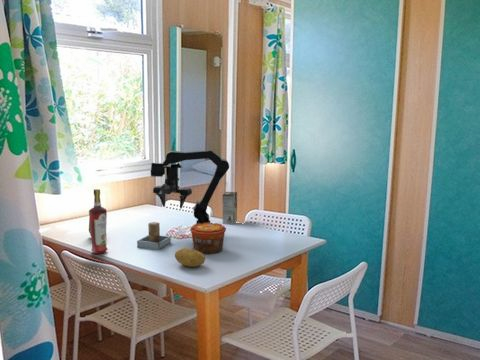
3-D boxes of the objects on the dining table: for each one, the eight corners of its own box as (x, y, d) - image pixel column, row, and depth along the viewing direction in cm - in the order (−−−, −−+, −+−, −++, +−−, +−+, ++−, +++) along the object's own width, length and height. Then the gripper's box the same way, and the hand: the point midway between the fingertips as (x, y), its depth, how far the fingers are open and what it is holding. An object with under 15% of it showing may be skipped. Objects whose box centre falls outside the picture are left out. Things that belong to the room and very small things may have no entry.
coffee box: (226, 219, 273) (226, 191, 270) (237, 220, 271) (237, 191, 269) (222, 223, 264) (222, 194, 261) (233, 224, 262) (233, 195, 260)
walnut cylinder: (160, 242, 227) (159, 222, 226) (159, 245, 222) (159, 224, 221) (149, 242, 227) (148, 222, 225) (148, 245, 222) (147, 224, 221)
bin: (170, 242, 228) (170, 236, 228) (159, 249, 218) (159, 243, 217) (149, 240, 232) (149, 234, 231) (137, 247, 221) (137, 240, 221)
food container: (212, 257, 207) (212, 233, 206) (182, 251, 216) (182, 227, 214) (232, 248, 221) (233, 225, 219) (204, 242, 229) (204, 220, 227)
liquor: (101, 248, 218) (99, 187, 214) (111, 252, 214) (109, 189, 209) (87, 252, 213) (84, 189, 208) (97, 256, 208) (94, 191, 204)
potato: (192, 272, 190) (192, 255, 189) (170, 265, 198) (169, 248, 197) (208, 266, 197) (208, 249, 196) (186, 259, 205) (186, 243, 204)
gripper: (147, 177, 235) (147, 209, 238) (182, 180, 229) (182, 212, 232) (158, 174, 245) (158, 204, 248) (192, 177, 240) (192, 208, 242)
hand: (172, 207), depth 242 cm, fingers open, 9 cm apart
